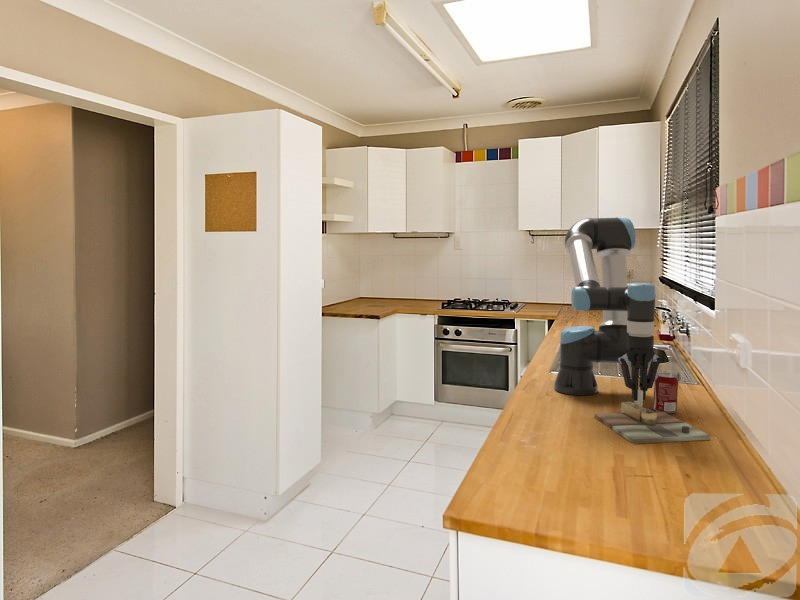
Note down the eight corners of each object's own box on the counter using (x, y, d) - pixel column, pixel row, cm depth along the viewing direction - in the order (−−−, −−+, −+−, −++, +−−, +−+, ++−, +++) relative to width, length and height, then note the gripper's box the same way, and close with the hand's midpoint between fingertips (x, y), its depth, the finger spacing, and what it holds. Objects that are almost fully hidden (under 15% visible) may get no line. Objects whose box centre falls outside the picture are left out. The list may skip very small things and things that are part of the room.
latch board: (594, 417, 164) (594, 409, 164) (661, 414, 166) (661, 406, 166) (633, 443, 142) (633, 433, 142) (709, 439, 145) (710, 430, 144)
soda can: (679, 415, 166) (681, 377, 165) (656, 414, 167) (657, 376, 166) (673, 408, 172) (674, 372, 171) (650, 407, 174) (652, 371, 173)
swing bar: (659, 424, 153) (659, 411, 152) (646, 425, 152) (647, 412, 152) (631, 410, 165) (631, 398, 165) (619, 411, 165) (620, 399, 164)
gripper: (655, 331, 164) (653, 406, 167) (613, 333, 164) (612, 407, 166) (667, 336, 157) (665, 413, 159) (624, 337, 156) (622, 415, 159)
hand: (638, 410), depth 163 cm, fingers closed
